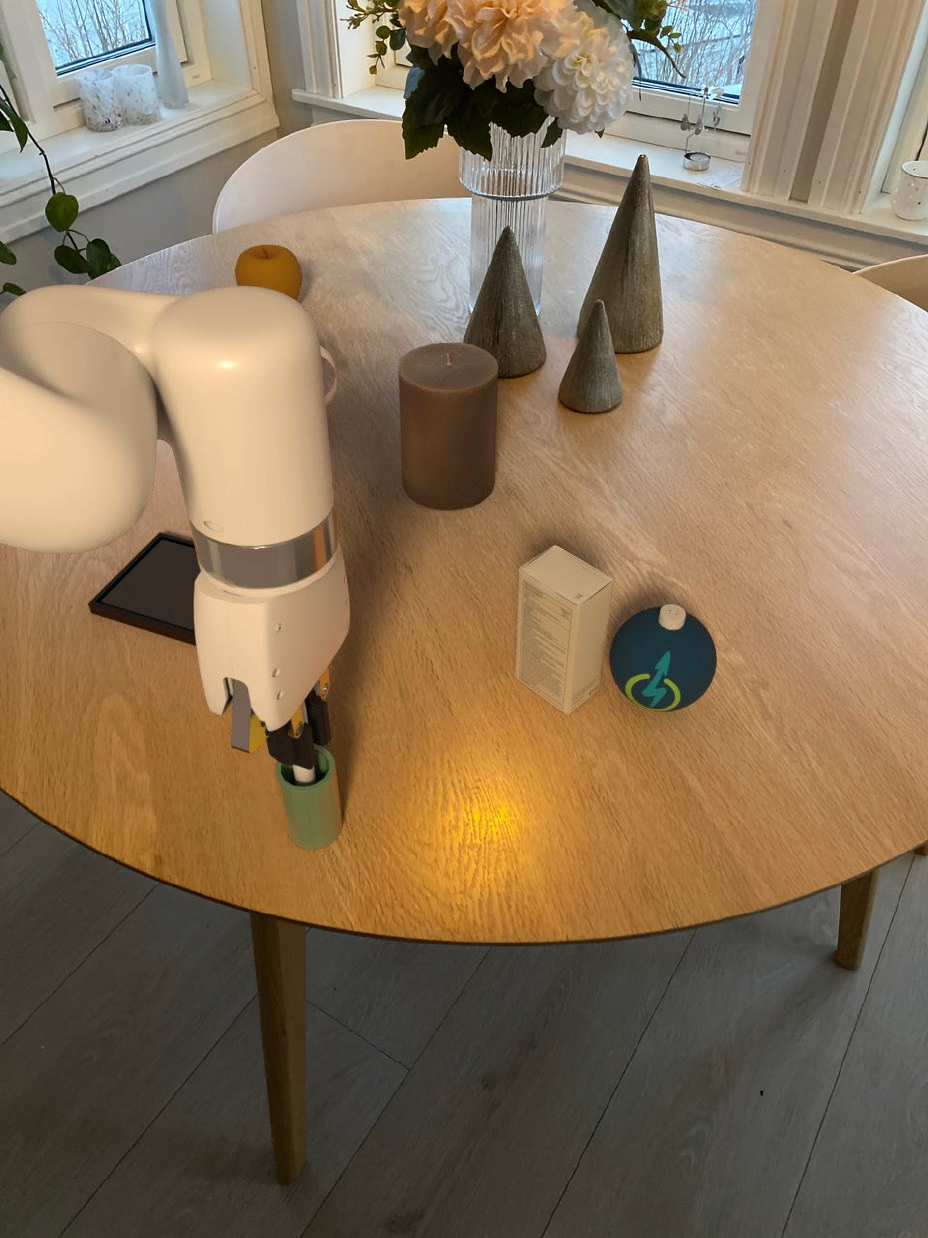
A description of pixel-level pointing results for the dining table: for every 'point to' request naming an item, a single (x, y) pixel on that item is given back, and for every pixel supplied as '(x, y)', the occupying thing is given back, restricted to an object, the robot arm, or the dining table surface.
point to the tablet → (135, 619)
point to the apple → (269, 269)
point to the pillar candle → (448, 424)
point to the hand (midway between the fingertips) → (300, 747)
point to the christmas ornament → (663, 658)
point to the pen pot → (311, 803)
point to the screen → (160, 586)
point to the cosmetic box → (562, 627)
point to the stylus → (302, 774)
